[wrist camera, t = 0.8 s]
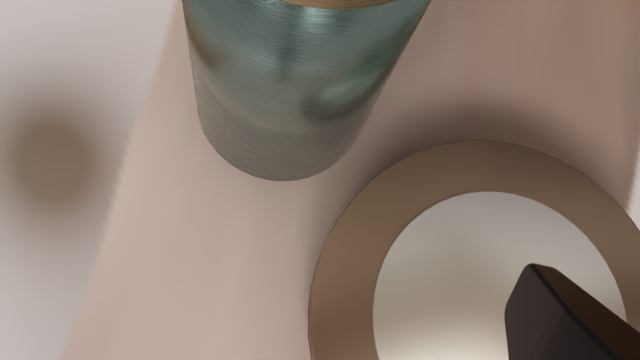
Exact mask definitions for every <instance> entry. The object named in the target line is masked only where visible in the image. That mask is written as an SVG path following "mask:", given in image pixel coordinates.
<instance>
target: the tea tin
mask: <svg viewBox="0 0 640 360" xmlns="http://www.w3.org/2000/svg"><path fill="white" fill-rule="evenodd" d="M430 2H431V0H182V3H183V10H184V17H185V24H186V31H187V38H188V45H189V52H190V59H191V66H192V73H193V80H194V86H195V93H196V100H197V107H198V114H199V118H200V122H201V125H202V128H203V130H204V133H205V135H206V137H207V138H208V140H209V142H210V143H211V145H212V146H213V147H214V149H215V150H216V151H217V152H218V153H219V154H220V155H221V156H222V157H223V158H224V159H225V160H226V161H228V162H229V163H230V164H231V165H233V166H234V167H236V168H238V169H240V170H241V171H243V172H245V173H248V174H250V175H252V176H255V177H259V178H263V179H268V180H274V181H291V180H299V179H303V178H307V177H310V176H313V175H316V174H318V173H320V172H322V171H324V170H326V169H328V168H329V167H331V166H332V165H333V164H335V163H336V162H337V161H338V160H339V159H340V158H341V157H342V156H343V155H344V154H345V153H346V152H347V150H348V149H349V148H350V146H351V145H352V143H353V141H354V139H355V138H356V136H357V134H358V132H359V130H360V129H361V127H362V125H363V123H364V121H365V120H366V118H367V116H368V114H369V112H370V111H371V109H372V107H373V105H374V103H375V101H376V100H377V98H378V96H379V94H380V92H381V91H382V89H383V87H384V85H385V83H386V81H387V80H388V78H389V76H390V74H391V72H392V71H393V69H394V67H395V65H396V63H397V62H398V60H399V58H400V56H401V54H402V52H403V51H404V49H405V47H406V45H407V43H408V42H409V40H410V38H411V36H412V34H413V32H414V31H415V29H416V27H417V25H418V23H419V22H420V20H421V18H422V16H423V14H424V13H425V11H426V9H427V7H428V5H429V3H430Z"/></svg>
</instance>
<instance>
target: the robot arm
mask: <svg viewBox="0 0 640 360" xmlns="http://www.w3.org/2000/svg"><path fill="white" fill-rule="evenodd" d="M504 320H505V330H506V339H507V348H508V358H509V360H640V332H638V331H637V330H636V329H634V328H633V327H632V326H631V325H629V324H628V323H627V322H625V321H624V320H623V319H621V318H620V317H619V316H617V315H616V314H615V313H614V312H612V311H611V310H610V309H608V308H607V307H606V306H604V305H603V304H602V303H600V302H599V301H598V300H596V299H595V298H594V297H593V296H591V295H590V294H589V293H587V292H586V291H585V290H583V289H582V288H581V287H579V286H578V285H577V284H576V283H574V282H573V281H572V280H570V279H569V278H568V277H566V276H565V275H564V274H562V273H561V272H560V271H558V270H557V269H556V268H553V267H550V266H545V265H540V264H536V263H530V264H528V265H526V266H525V267H524V269H523V270H522V272H521V274H520V276H519V278H518V280H517V282H516V284H515V287H514V289H513V291H512V293H511V295H510V297H509V299H508V301H507V304H506V307H505V312H504Z"/></svg>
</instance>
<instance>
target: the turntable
mask: <svg viewBox="0 0 640 360" xmlns="http://www.w3.org/2000/svg"><path fill="white" fill-rule="evenodd" d="M530 263H536V264H540V265H545V266H550V267H553V268H556V269H557V270H558V271H560V272H561V273H562V274H564V275H565V276H566V277H568V278H569V279H570V280H572V281H573V282H574V283H576V284H577V285H578V286H579V287H581V288H582V289H583V290H585V291H586V292H587V293H589V294H590V295H591V296H593V297H594V298H595V299H596V300H598V301H599V302H600V303H602V304H603V305H604V306H606V307H607V308H608V309H610V310H611V311H612V312H614V313H615V314H616V315H617V316H619V317H620V318H621V319H623V320H624V321H625V322H627V323H628V324H629V325H631V326H632V327H633V328H634V329H636V330H637V331H638V332H640V231H639V229H638V228H637V226H636V225H635V223H634V222H633V221H632V219H631V218H630V217H629V216H628V214H627V213H626V212H625V211H624V210H623V209H622V208H621V207H620V205H619V204H618V203H617V202H616V201H615V200H614V199H613V198H612V197H611V196H610V195H609V194H608V193H606V192H605V191H604V190H603V189H602V188H601V187H600V186H599V185H598V184H596V183H595V182H593V181H592V180H591V179H589V178H588V177H587V176H585V175H584V174H583V173H581V172H580V171H578V170H576V169H575V168H573V167H571V166H569V165H568V164H566V163H564V162H562V161H561V160H559V159H556V158H554V157H552V156H549V155H547V154H545V153H542V152H540V151H537V150H534V149H530V148H527V147H524V146H520V145H516V144H510V143H504V142H498V141H478V140H471V141H461V142H451V143H447V144H443V145H438V146H434V147H430V148H427V149H425V150H422V151H420V152H417V153H414V154H412V155H409V156H408V157H406V158H404V159H402V160H400V161H399V162H397V163H395V164H393V165H391V166H390V167H388V168H387V169H386V170H384V171H383V172H382V173H380V174H379V175H378V176H376V177H375V178H374V179H372V180H371V181H370V182H369V183H368V184H367V185H366V186H365V187H364V188H363V189H362V190H361V191H360V192H359V193H358V194H357V195H356V197H355V198H354V199H353V201H352V202H351V203H350V205H349V206H348V207H347V209H346V210H345V211H344V212H343V214H342V215H341V216H340V218H339V219H338V220H337V222H336V224H335V225H334V227H333V229H332V231H331V233H330V234H329V236H328V238H327V240H326V241H325V244H324V246H323V249H322V251H321V254H320V256H319V259H318V261H317V264H316V268H315V272H314V276H313V280H312V284H311V289H310V298H309V306H308V339H309V347H310V354H311V360H509V358H508V348H507V339H506V330H505V320H504V312H505V307H506V304H507V301H508V299H509V297H510V295H511V293H512V291H513V289H514V287H515V284H516V282H517V280H518V278H519V276H520V274H521V272H522V270H523V269H524V267H525V266H526V265H528V264H530Z"/></svg>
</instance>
